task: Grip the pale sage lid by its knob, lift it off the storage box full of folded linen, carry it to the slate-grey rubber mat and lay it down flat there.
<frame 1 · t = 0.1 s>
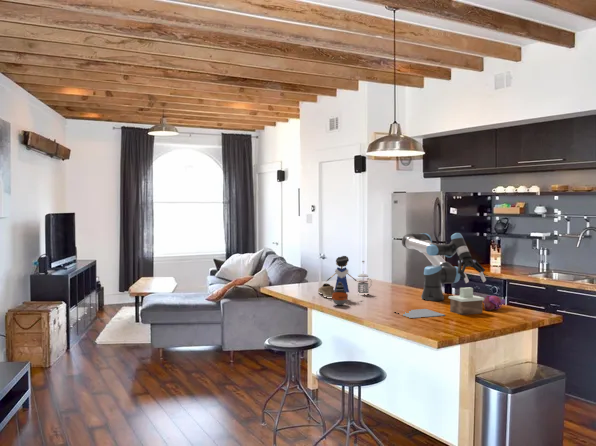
hand: (476, 281, 335), 15 cm above the countertop, fingers open, 13 cm apart
anatomical model: (491, 309, 321), on the countertop
slip on shoe: (326, 295, 375), on the countertop
storage box: (466, 312, 312), on the countertop
grenade: (340, 305, 335), on the countertop
french press: (364, 294, 378), on the countertop
figurine: (341, 298, 361), on the countertop
mat: (418, 313, 307), on the countertop
lid: (466, 299, 312), point 8 cm above the countertop, touching storage box
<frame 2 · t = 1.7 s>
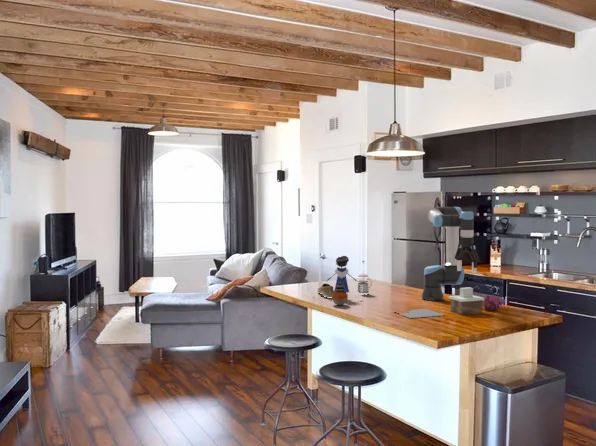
hand: (466, 272, 311), 25 cm above the countertop, fingers open, 13 cm apart
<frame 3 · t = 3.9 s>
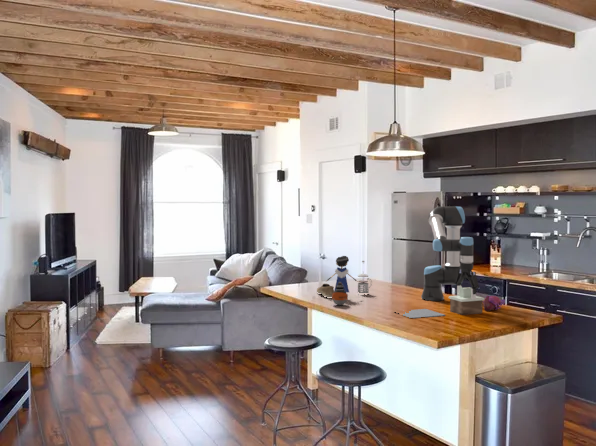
hand: (466, 297, 312), 9 cm above the countertop, fingers closed on lid, 12 cm apart
lid: (466, 299, 312), point 8 cm above the countertop, touching gripper, storage box
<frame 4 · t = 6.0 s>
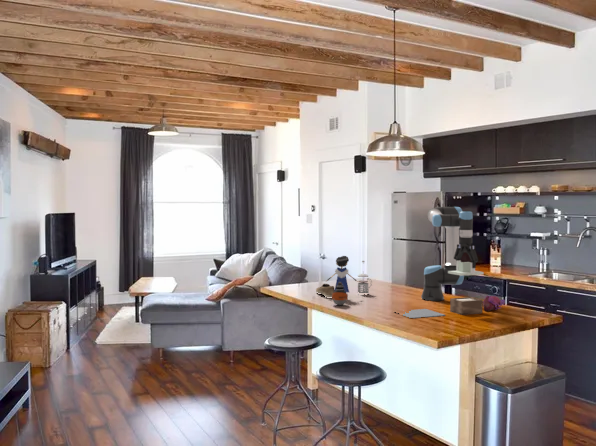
hand: (465, 272, 311), 24 cm above the countertop, fingers closed on lid, 12 cm apart
lid: (465, 273, 311), point 24 cm above the countertop, touching gripper
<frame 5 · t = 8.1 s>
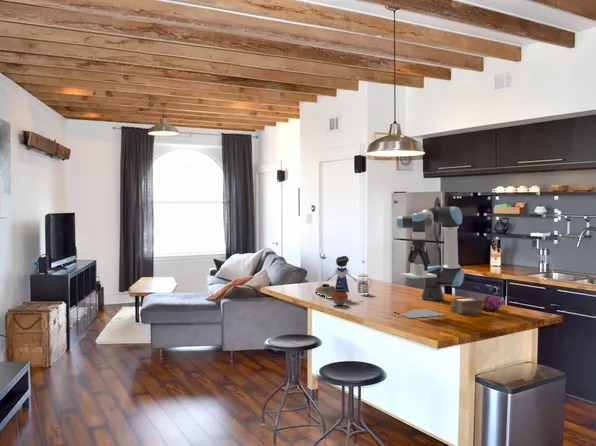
hand: (418, 274, 306), 23 cm above the countertop, fingers closed on lid, 12 cm apart
lid: (418, 276, 306), point 23 cm above the countertop, touching gripper
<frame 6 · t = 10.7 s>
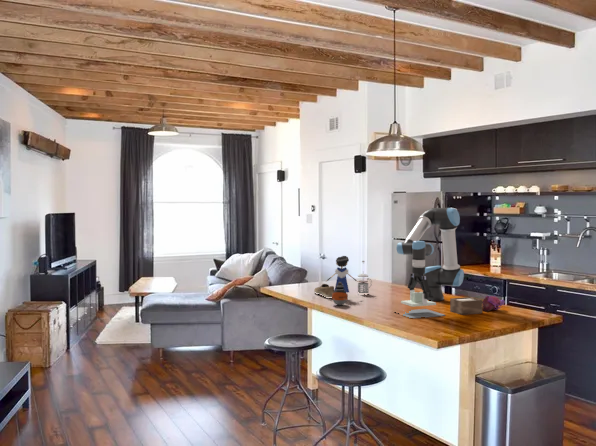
hand: (418, 302, 307), 7 cm above the countertop, fingers closed on lid, 12 cm apart
lid: (418, 304, 307), point 6 cm above the countertop, touching gripper
when the fingers open (3 cm above the countertop, at t = 12.7 s): lid drops 2 cm, resting on mat.
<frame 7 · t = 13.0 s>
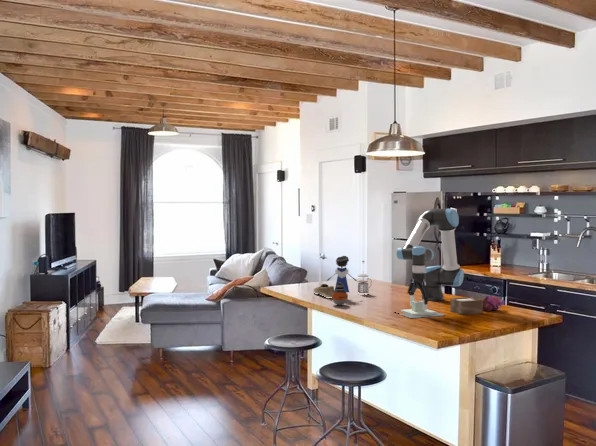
hand: (418, 307, 307), 4 cm above the countertop, fingers open, 13 cm apart
lid: (418, 313, 307), resting on mat
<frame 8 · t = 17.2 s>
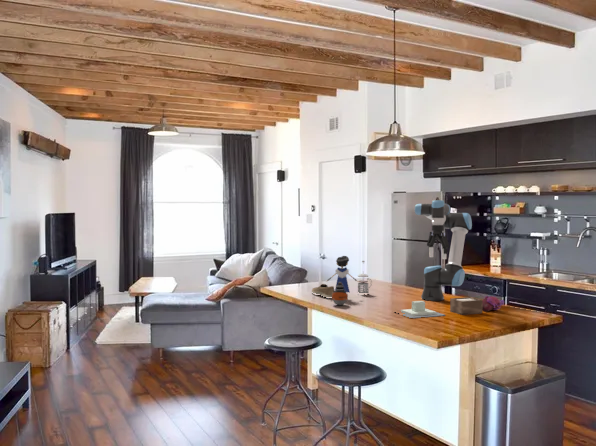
hand: (437, 258, 325), 32 cm above the countertop, fingers open, 13 cm apart
slip on shoe: (323, 296, 373), on the countertop
at the end: lid inside the target area on the mat (0.0 cm from its centre), point 0.5 cm above the mat's base; lid tilted 0°; lid touching mat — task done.
